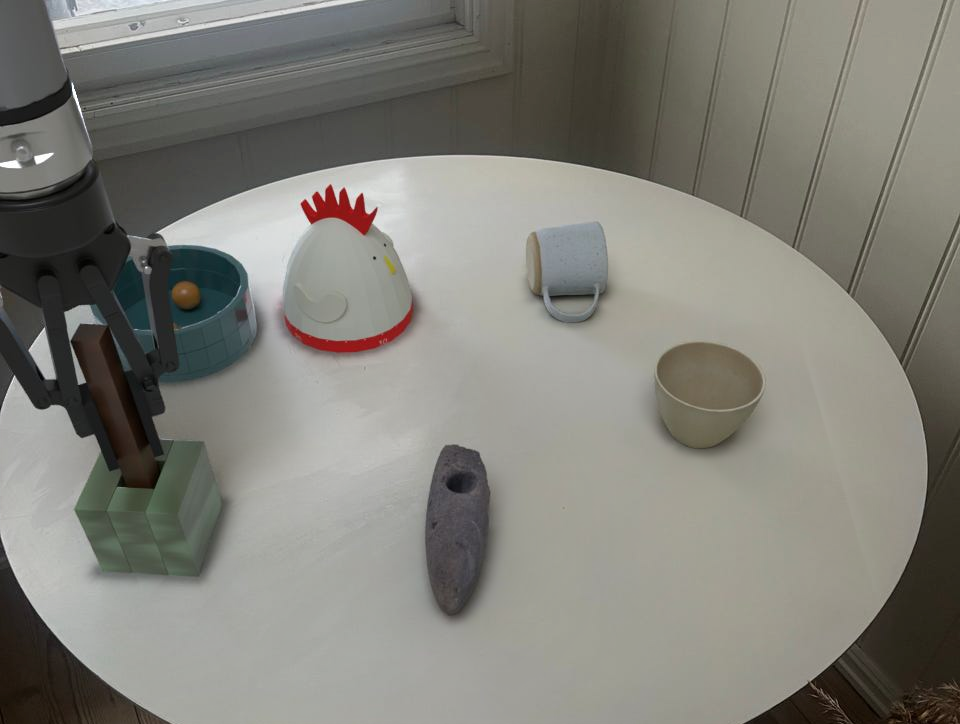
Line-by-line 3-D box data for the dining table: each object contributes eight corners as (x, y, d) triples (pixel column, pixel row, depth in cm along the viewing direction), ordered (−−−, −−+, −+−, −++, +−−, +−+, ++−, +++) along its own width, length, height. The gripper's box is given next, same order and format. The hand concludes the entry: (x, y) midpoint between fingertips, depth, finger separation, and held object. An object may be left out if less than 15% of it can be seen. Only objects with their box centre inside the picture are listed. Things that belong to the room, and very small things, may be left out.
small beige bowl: (753, 408, 91) (771, 351, 86) (741, 478, 85) (760, 421, 80) (653, 386, 93) (664, 330, 88) (634, 453, 87) (645, 396, 81)
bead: (171, 314, 98) (165, 291, 96) (179, 298, 100) (173, 274, 98) (199, 316, 98) (193, 292, 96) (206, 299, 100) (201, 276, 98)
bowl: (84, 379, 93) (65, 331, 88) (132, 288, 103) (118, 241, 99) (238, 386, 92) (227, 339, 88) (270, 294, 103) (262, 247, 98)
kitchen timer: (379, 366, 95) (369, 239, 84) (261, 335, 98) (236, 209, 87) (431, 291, 104) (428, 167, 93) (321, 265, 107) (305, 142, 96)
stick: (149, 546, 78) (69, 341, 62) (156, 528, 80) (79, 322, 63) (173, 547, 78) (99, 342, 62) (179, 529, 80) (108, 324, 63)
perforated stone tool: (479, 634, 73) (480, 581, 68) (412, 628, 73) (409, 575, 68) (493, 494, 83) (495, 438, 78) (435, 489, 83) (433, 434, 78)
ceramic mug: (521, 271, 107) (525, 213, 101) (590, 266, 107) (598, 208, 102) (538, 329, 100) (543, 270, 94) (612, 323, 100) (621, 264, 95)
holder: (103, 572, 76) (73, 509, 70) (133, 500, 82) (107, 436, 76) (199, 577, 76) (177, 514, 70) (222, 505, 82) (204, 440, 76)
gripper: (-115, 232, 49) (34, 519, 66) (179, 169, 54) (246, 450, 71) (-123, 168, 54) (18, 452, 71) (149, 116, 59) (219, 392, 76)
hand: (132, 451), depth 71 cm, fingers closed on stick, 3 cm apart
